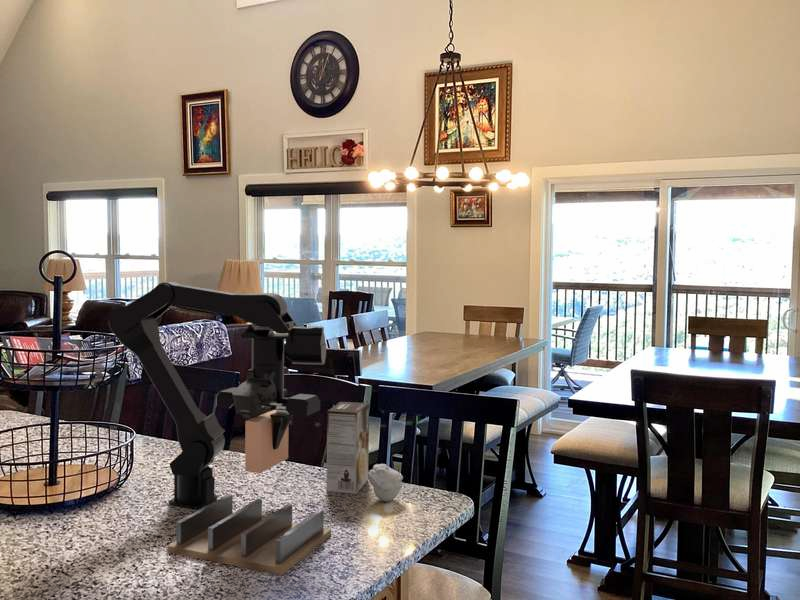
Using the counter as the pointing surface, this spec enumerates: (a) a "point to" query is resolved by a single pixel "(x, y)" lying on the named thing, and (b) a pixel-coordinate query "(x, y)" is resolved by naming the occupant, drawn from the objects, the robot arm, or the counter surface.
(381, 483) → the white rounded lump
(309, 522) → the rack dividers
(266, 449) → the peach rectangular block
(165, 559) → the counter surface
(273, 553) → the rack base
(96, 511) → the counter surface
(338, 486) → the coffee box
